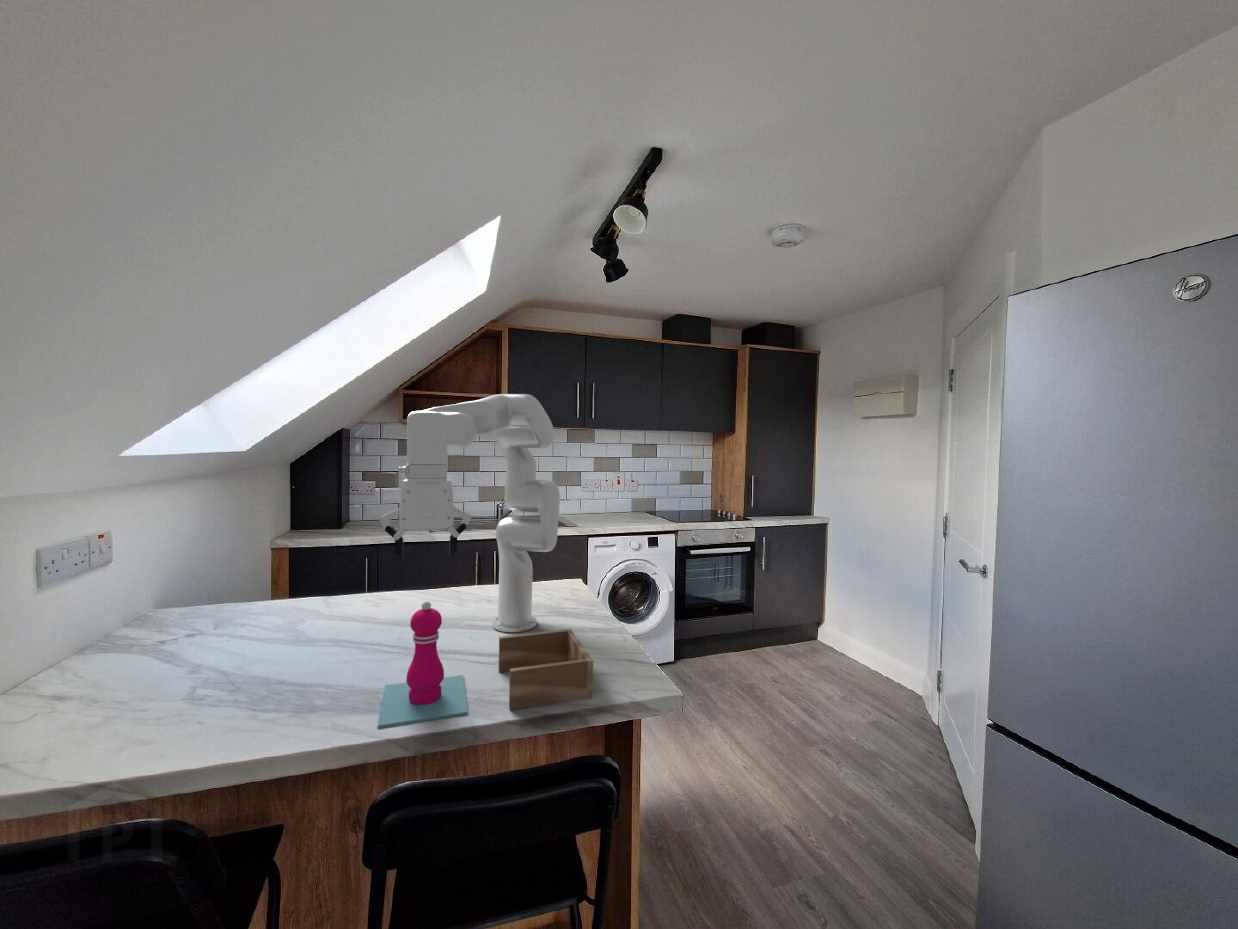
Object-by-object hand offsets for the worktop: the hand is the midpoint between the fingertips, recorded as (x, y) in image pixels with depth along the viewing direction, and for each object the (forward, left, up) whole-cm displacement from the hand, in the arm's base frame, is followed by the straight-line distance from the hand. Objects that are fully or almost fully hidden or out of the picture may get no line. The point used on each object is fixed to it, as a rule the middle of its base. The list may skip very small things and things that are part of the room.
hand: (426, 557), depth 102 cm
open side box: (0, +24, -30) cm, 38 cm away
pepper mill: (0, 0, -29) cm, 29 cm away
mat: (0, 0, -30) cm, 30 cm away
